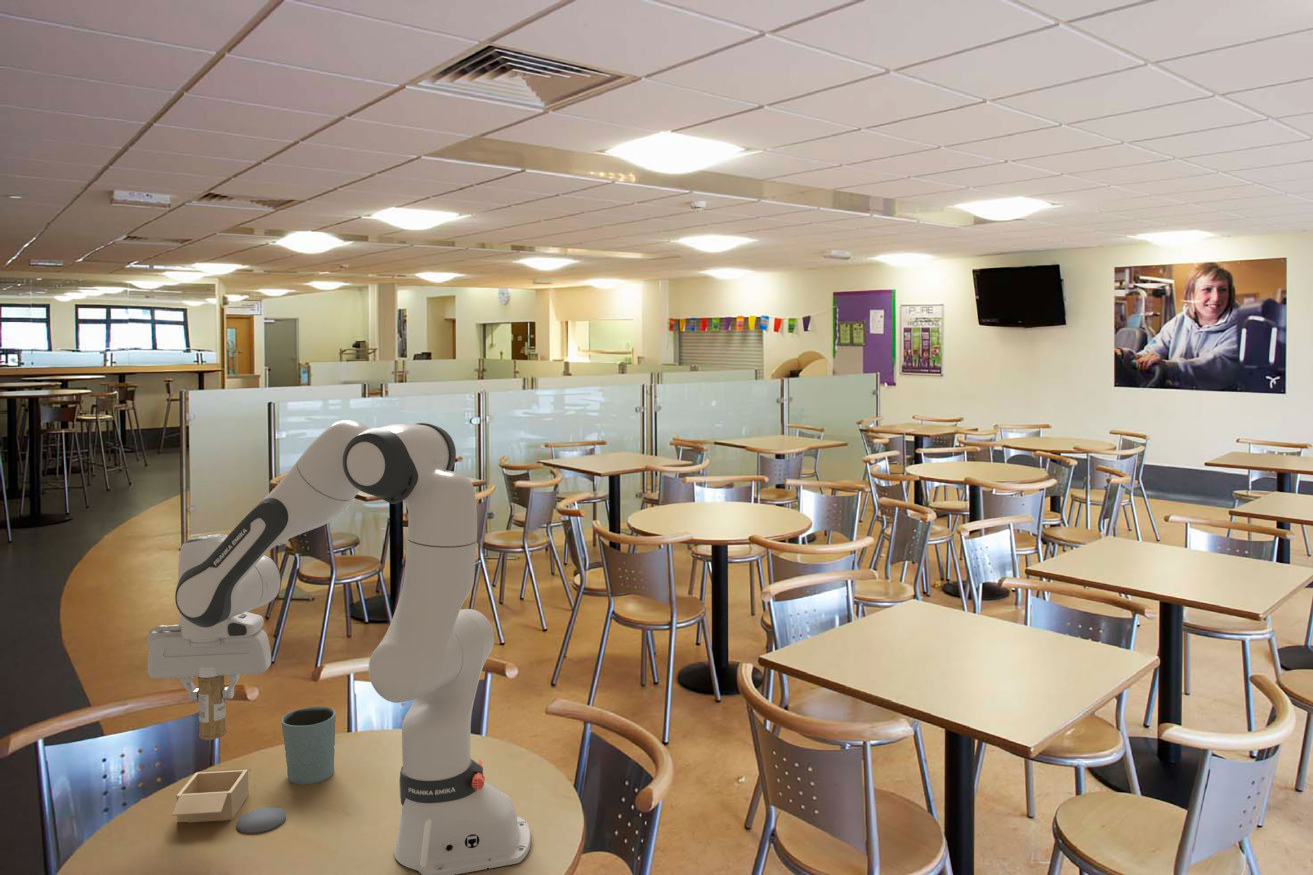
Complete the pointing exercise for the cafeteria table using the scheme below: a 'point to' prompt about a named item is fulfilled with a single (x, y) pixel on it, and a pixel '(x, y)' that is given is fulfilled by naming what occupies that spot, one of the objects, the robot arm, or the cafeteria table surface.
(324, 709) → the teal cup
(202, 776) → the carton
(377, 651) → the robot arm
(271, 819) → the coaster
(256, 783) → the cafeteria table surface
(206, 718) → the sprinkles bottle
